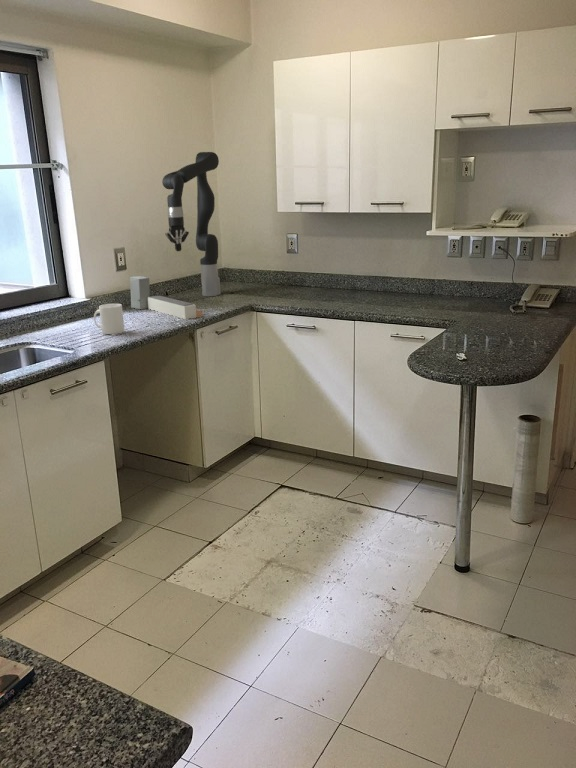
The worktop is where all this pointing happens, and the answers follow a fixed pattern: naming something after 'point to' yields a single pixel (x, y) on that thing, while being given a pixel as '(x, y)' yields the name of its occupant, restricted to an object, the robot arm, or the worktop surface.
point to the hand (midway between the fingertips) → (178, 251)
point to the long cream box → (173, 307)
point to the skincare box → (139, 292)
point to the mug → (110, 318)
